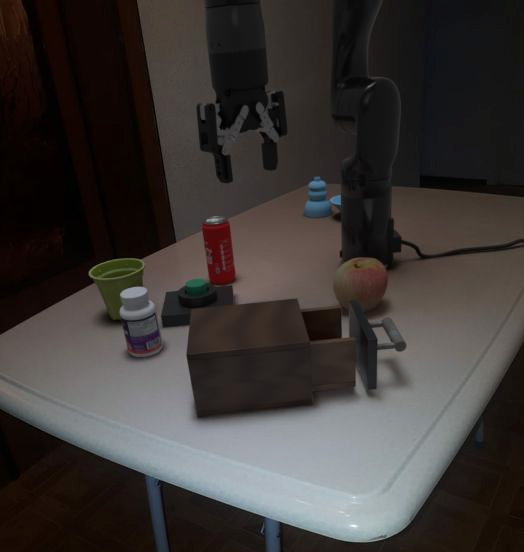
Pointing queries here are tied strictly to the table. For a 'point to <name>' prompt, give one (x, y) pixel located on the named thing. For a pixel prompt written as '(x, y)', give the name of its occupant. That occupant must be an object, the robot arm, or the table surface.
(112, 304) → the plant pot
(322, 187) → the blue tiered piece
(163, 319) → the control block
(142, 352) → the pill bottle
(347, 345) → the drawer
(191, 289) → the button
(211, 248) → the beverage can
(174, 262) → the table surface
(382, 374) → the table surface
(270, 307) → the cabinet
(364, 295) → the apple
